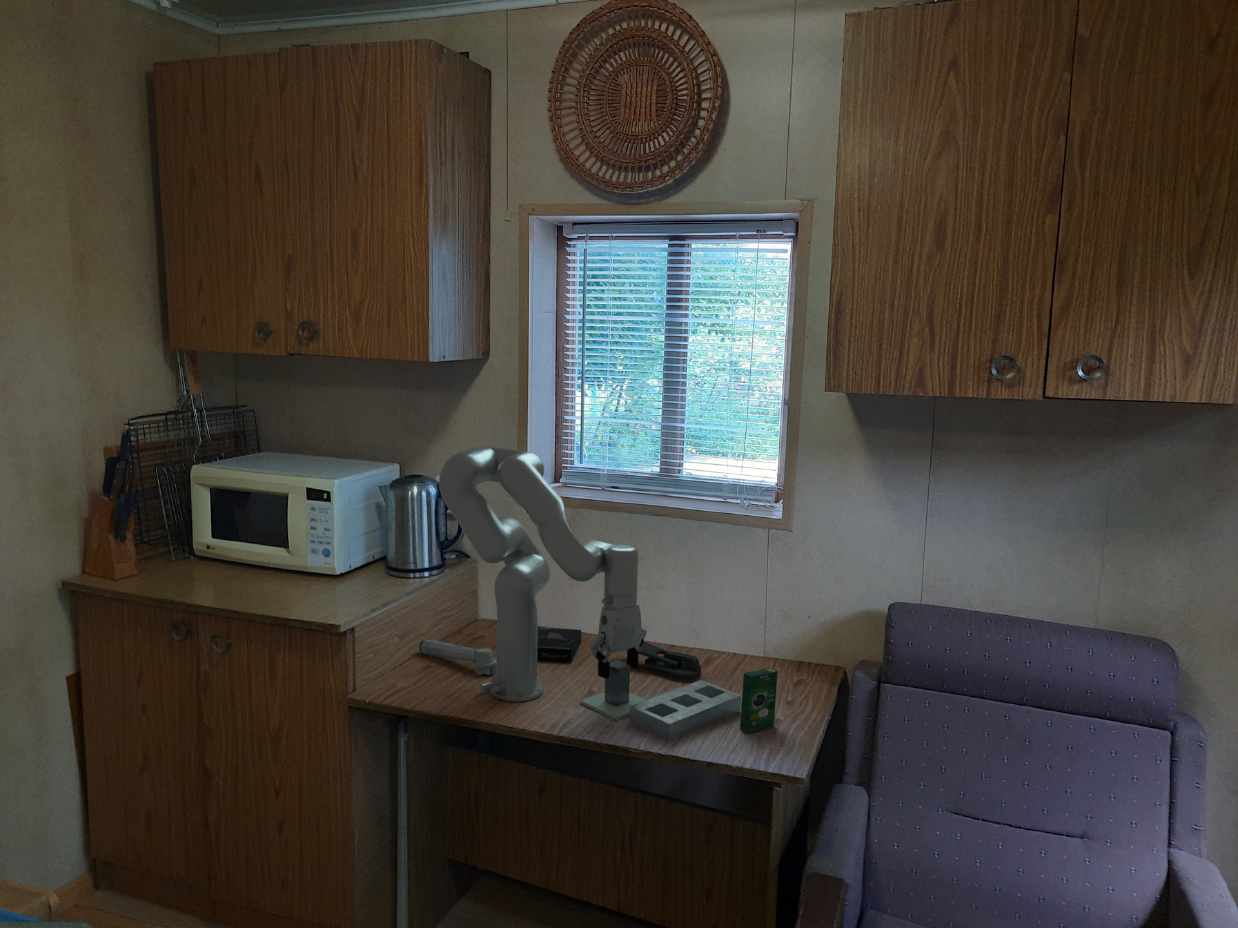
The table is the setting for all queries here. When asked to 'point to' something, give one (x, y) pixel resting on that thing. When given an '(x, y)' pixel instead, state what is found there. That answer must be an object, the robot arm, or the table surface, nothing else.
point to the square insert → (617, 683)
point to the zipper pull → (670, 664)
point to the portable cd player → (557, 644)
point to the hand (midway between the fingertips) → (618, 672)
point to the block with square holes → (684, 710)
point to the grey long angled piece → (461, 655)
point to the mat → (609, 709)
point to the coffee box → (758, 700)
